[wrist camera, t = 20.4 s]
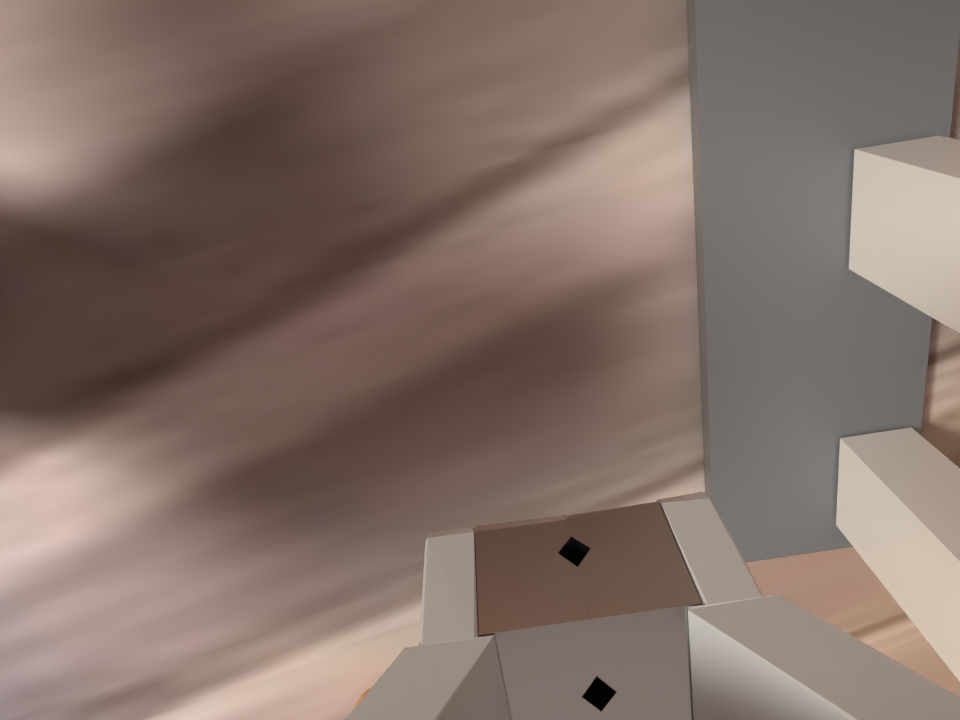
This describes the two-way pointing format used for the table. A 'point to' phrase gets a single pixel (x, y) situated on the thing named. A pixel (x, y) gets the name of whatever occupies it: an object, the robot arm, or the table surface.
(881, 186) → the key two
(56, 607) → the table surface
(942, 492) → the key one
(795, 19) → the grey flat board
